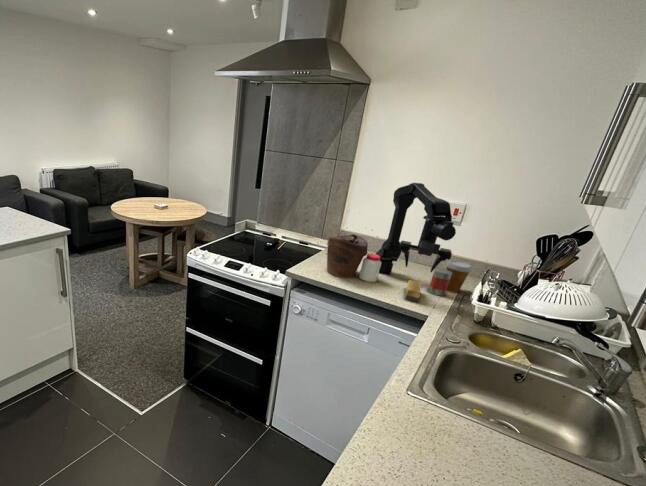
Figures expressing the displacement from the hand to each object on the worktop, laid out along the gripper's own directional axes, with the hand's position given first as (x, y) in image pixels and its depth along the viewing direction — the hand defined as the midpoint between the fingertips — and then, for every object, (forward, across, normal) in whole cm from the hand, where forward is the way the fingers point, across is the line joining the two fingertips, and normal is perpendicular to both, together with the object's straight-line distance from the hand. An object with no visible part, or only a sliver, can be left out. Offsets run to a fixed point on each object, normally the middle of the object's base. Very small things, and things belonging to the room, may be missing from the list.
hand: (418, 269), depth 160 cm
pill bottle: (+11, -18, +7) cm, 23 cm away
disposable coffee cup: (+11, +16, +18) cm, 27 cm away
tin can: (+11, +10, +9) cm, 18 cm away
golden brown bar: (+11, 0, -2) cm, 11 cm away
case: (+11, -30, +7) cm, 33 cm away
